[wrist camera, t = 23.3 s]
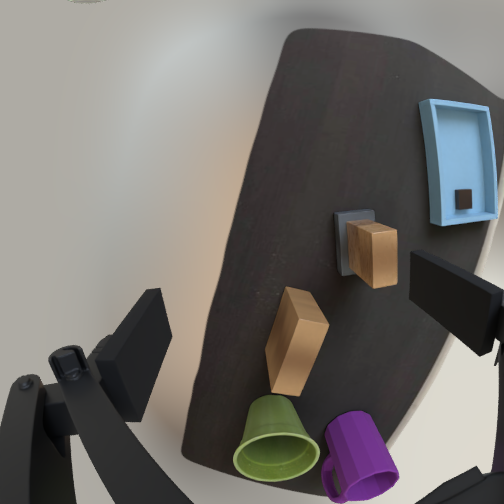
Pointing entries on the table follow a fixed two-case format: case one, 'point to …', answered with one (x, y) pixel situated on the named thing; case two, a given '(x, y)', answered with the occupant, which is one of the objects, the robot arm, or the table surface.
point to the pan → (459, 160)
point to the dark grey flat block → (463, 199)
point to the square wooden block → (294, 341)
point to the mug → (357, 459)
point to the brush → (366, 248)
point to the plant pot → (274, 442)
